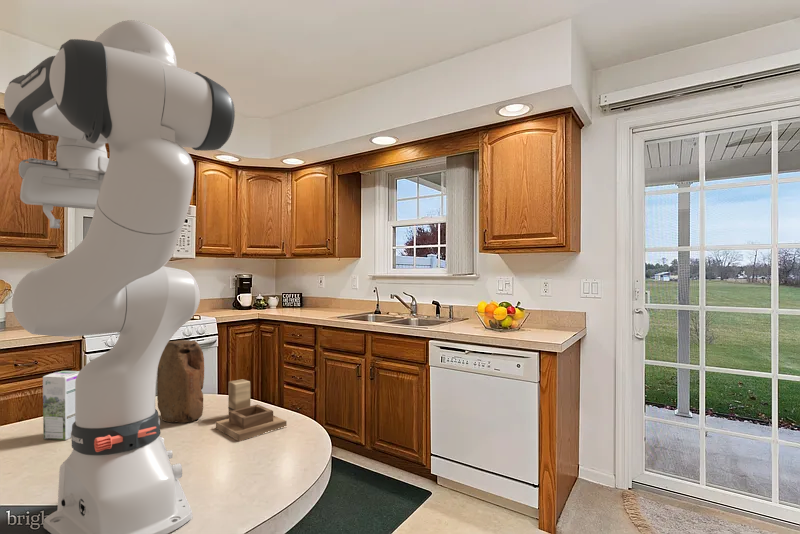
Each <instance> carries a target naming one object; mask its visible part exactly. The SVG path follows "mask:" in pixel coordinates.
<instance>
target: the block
mask: <svg viewBox="0 0 800 534" xmlns="http://www.w3.org/2000/svg"><path fill="white" fill-rule="evenodd" d="M203 352H204V351H203V350H202V348H201V346H200V344H199V343H198V341H196V340H195V339H194V340H190V339H179V340H178V339H177V340H171V341H170V340H169V342H168V343H167V345H166V347H165V349H164V351H163V353H162V355H161V358H160V361H159V365H158V370H157V379H156V390H157V391H156V393H157V395H156V396H157V408H158V409H157V410H158V412H159V413H160V419H161V420H162V421H164V422H167V423H178V424H179V423H180V424H181V423H186V424H187V423H190V422H191V423H192V422H194V421H197V420H199V419H200V418H201V417H202V416H203V413H204V393H203V391H202V390H203V388H204V382H205V381H204V380H205V357H204V353H203Z"/></svg>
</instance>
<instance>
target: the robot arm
mask: <svg viewBox="0 0 800 534" xmlns="http://www.w3.org/2000/svg"><path fill="white" fill-rule="evenodd" d="M58 50H59V51H58V52H57V53H56V55H52V56H49V57H47V58H45V59H44V60H42V61H41V62H40V63H38V64H37V65H36V66H35V67H33V68H32V69H31V70H30V71H29V72H27V73H26V74H22V75H20V76H16V77H14V78H13V79H11V80H10V81H9V83H8V85H7V87H6V88H5V91H4V97H3V105H4V110H5V113H6V117H7V118H8V120H9V121H10V122H12V124H13V125H14V126H15V127H17V128H18V129H19V130H20V131H22V132H23V133H30V134H37V135H38V134H40V135H42V134H44V135H49V136H50V135H51V136H56V137H58V141H57V143H56V160H50V159H40V158H36V157H35V158H33V157H29V158H27V159H23V160H21V161H20V162H19V163H18V175H19V177H21V179H22V180H21V181H22V182H21V184H20V185H21V186H20V192H19V199H20V201H21V202H22V203H24V204H25V205H31V206H32V205H33V206H42V212H43V213H44V214H45V216H46V217H47V219H48V220H49V229H61V224H60V223H61V219H59V218H55V216H54V215H53V213H52V211H53V210H54V207H60V208H71V209H72V208H73V209H81V210H83V209H85V210H94V211H93V215H92V218H91V222H90V224H89V227H88V230H87V232H86V235H85V237H84V238H83V239H82V241H81V242H80V243H79V244H78V245H77V246H76V247H75V248H74V249H73V250H71V251H70V252H69V253H68V254H66V255H64V256H63V257H61V258H60V259H58V260H56V261H54V262H51V263H50V264H47V265H44V266H43V267H39V268H37V269H34V270H31V271H30V272H28V273H26V274H25V276H23V278H22V279H20V281H19V282H18V284H17V285H16V287H15V289H14V291H13V294H12V300H11V301H12V302H11V308H12V311H13V315H14V317H15V319H16V320H17V322H18V323H19V325H20V326H21V327H22V328H23V329H24V330H25V331H27V332H28V333H29V334H31V335H36V336H37V335H38V336H50V337H65V338H67V337H68V338H71V337H73V338H74V337H81V336H83V337H84V336H93V335H103V334H114V333H119V334H118V338H117V341H116V342H115V344H114V346H113V347H111V348H110V349H109V350H108V351H106V352H105V353H102V354H101V355H99V356H97V357H95V358H94V359H92V360H90V361H89V362H87V363H86V364H85V365H84V366H83V367H82V368H81V369H80V370H79V371H80V372H79V374H78V375H77V378H76V381H75V422H74V423H73V425H72V432H71V438H70V439H71V448H72V451H71V453H70V454H69V455H68V457H67V458H66V459H65V460H64V461H63V462H62V463H61V464H60V466H59V472H58V473H59V474H58V492H57V496H58V497H57V510H55V511H53V512H52V513H51V514H48V516H46V517H45V518H44V519H43V526H42V527H43V529H45V530H46V531H47V532H49V533H50V534H170V533H171V532H174V531H176V530H177V529H179V528H181V527H182V526H184V525H185V524H187V522H189V521H190V520H191V519H192V518H193V511H192V507H191V505H190V503H189V500H188V499H187V496H186V493H185V492H184V489H183V487H182V485H181V482H180V480H179V479H181V478H182V477H183V466H182V463H180V462H178V463H175V464H171V462H170V459H172V458H173V450H172V449H170V450H169V449H168V450H167V448H166V445H165V438H164V437H162V436H160V435H161V433H162V432H161V420H160V419H161V418H160V417H159V410H158V409H156V396H157V395H156V393H157V391H156V390H157V377H158V365H159V361H160V358H161V355H162V353H163V351H164V349H165V347H166V345H167V343H168V342H169V341H170V340H171V339H172V338H173V336H174V335H175V334H176V332H178V330H180V329H181V327H183V326H184V325H185V324H187V323H188V322H189V321H190V320H191V319H192V318H193V317H194V316H195V314H196V312H197V311H198V308H199V306H200V303H201V302H200V301H201V291H200V287H199V284H198V281H197V280H196V278H195V277H194V276H193V274H191V272H189V271H188V270H185V269H180V268H176V267H169V266H166V265H167V263H168V262H169V261H170V260H171V258H172V257H173V255H174V253H175V249H176V247H177V244H178V241H179V238H180V235H181V233H182V231H183V227H184V224H185V222H186V219H187V216H188V211H189V210H190V204H191V201H192V196H193V190H194V182H195V180H194V178H195V165H194V161H193V159H192V157H191V155H190V154H189V152H188V151H187V150H186V149H185V148H191V149H192V150H195V151H208V152H209V151H218V150H220V149H221V148H223V146H224V145H225V144H226V143H227V142H228V140H229V139H230V137H231V135H232V132H233V129H234V124H235V117H236V115H235V113H236V112H235V111H236V110H235V103H234V101H233V99H232V97H231V96H230V94H229V92H228V90H227V89H226V88H225V87H224V86H223V85H221V84H219V83H218V82H216V81H214V80H213V79H211V78H210V77H208V76H205V75H203V74H202V73H200V72H198V71H195V72H192V71H189V70H188V69H185V68H182V67H179V66H178V63H177V62H178V61H177V60H178V59H177V55H176V52H175V49H174V47H173V45H172V44H171V42H170V41H169V39H168V38H167V37H166V36H165V35H164V34H163V32H161V31H160V30H159V29H157V28H156V27H154V26H153V25H151V24H148V23H146V22H144V21H143V22H142V21H141V20H135V19H134V20H132V19H131V20H130V19H129V20H122V21H119V22H116V23H115V24H113V25H111V26H109V27H108V28H106V29H105V30H104V31H103V32H101V34H99V35H98V36H97V37H96V38H95V39H94V40H89V39H78V38H74V39H73V38H72V39H71V38H70V39H69V40H67V41H66V42H64V43H62V44H61V45H60V48H59V49H58ZM106 144H108V148H109V149H108V150H109V158H108V151H107V147H106Z"/></svg>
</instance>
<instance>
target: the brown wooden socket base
mask: <svg viewBox="0 0 800 534" xmlns="http://www.w3.org/2000/svg"><path fill="white" fill-rule="evenodd" d="M287 425H288V424H287V420H285V419H283V418H281V417H278V416H275V415H274V410H272V409H270V408H269V407H266V406H264V405H263V406H262V405H260V404H253V405H250V406H249V407H245V408H241V409H237V410H233V411H229V410H228V418H225V419H222V420H218V421H215V429H217V430H218V431H220V432H222V433H223V432H224V434H225V433H226V434H225V435H227V436H229V437H231V438H232V437H233V439H234V440H236V441H238V442H243V441H245V439H246V440H249V439H252V438H255V437H254V436H256V437H258V436H257V435H259V436H261V435H260V434H262V435H264V434H263V433H265V432H268V431H271V430H275V429H278V428H281V427H284V426H287ZM251 437H252V438H251ZM248 438H249V439H248ZM242 440H243V441H242Z"/></svg>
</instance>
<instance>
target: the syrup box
mask: <svg viewBox="0 0 800 534" xmlns="http://www.w3.org/2000/svg"><path fill="white" fill-rule="evenodd" d="M80 371H81V370H78V371H77V370H61V371H55V372H53V373H52V372H51V373H49V374H46V375H44V376H42V415H43V416H42V419H43V421H42V422H43V423H42V424H43V431H42V435H43V437H42V438H43V440H56V441H58V440H60V441H61V440H62V441H66V440H69V439H71V432H72V425H73V423H74V422H75V381H76V378H77V375H78V374H79V372H80Z"/></svg>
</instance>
